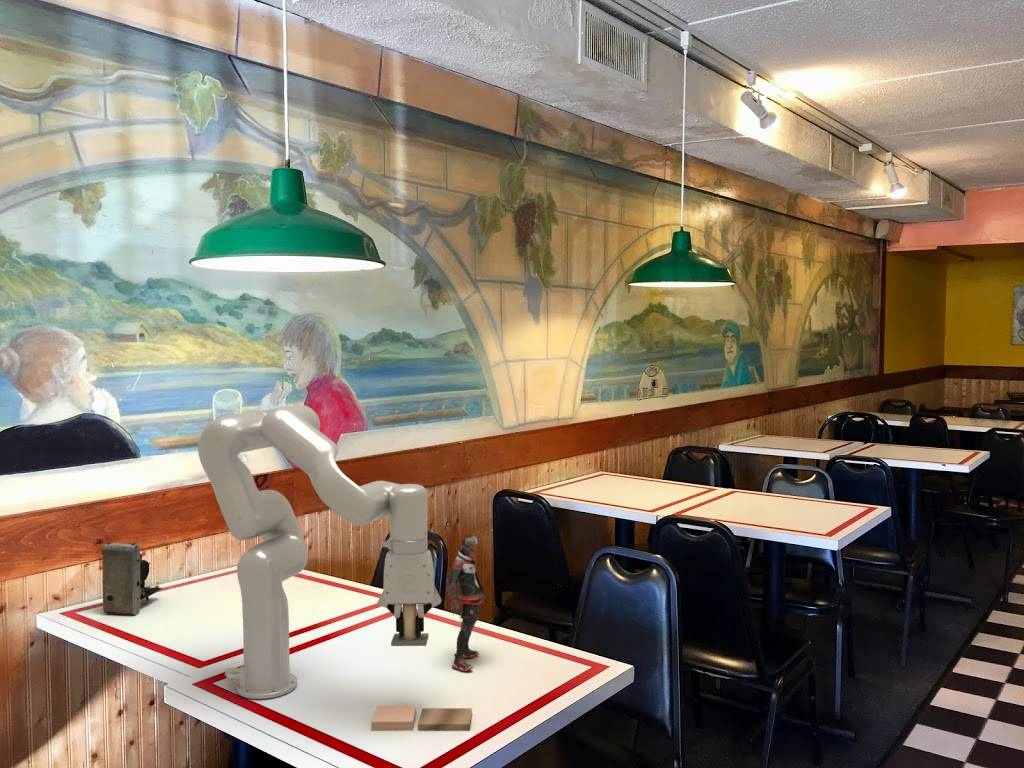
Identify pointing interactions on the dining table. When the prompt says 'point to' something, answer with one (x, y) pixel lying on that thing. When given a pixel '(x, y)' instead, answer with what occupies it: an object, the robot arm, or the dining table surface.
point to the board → (445, 719)
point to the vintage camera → (124, 579)
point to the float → (409, 629)
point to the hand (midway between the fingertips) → (410, 634)
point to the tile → (393, 718)
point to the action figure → (465, 600)
